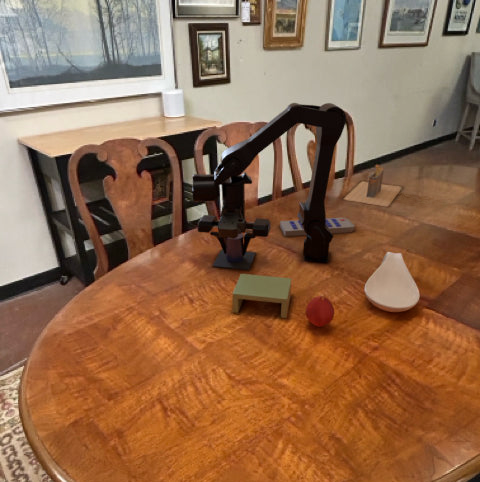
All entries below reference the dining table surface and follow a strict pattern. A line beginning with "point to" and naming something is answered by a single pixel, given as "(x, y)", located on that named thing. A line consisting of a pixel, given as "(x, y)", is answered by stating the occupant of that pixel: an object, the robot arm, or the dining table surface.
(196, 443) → the dining table surface
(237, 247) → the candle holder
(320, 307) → the onion
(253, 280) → the shelf
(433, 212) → the dining table surface
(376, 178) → the architectural model on board
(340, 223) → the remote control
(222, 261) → the mat
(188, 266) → the dining table surface
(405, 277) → the spoon rest
